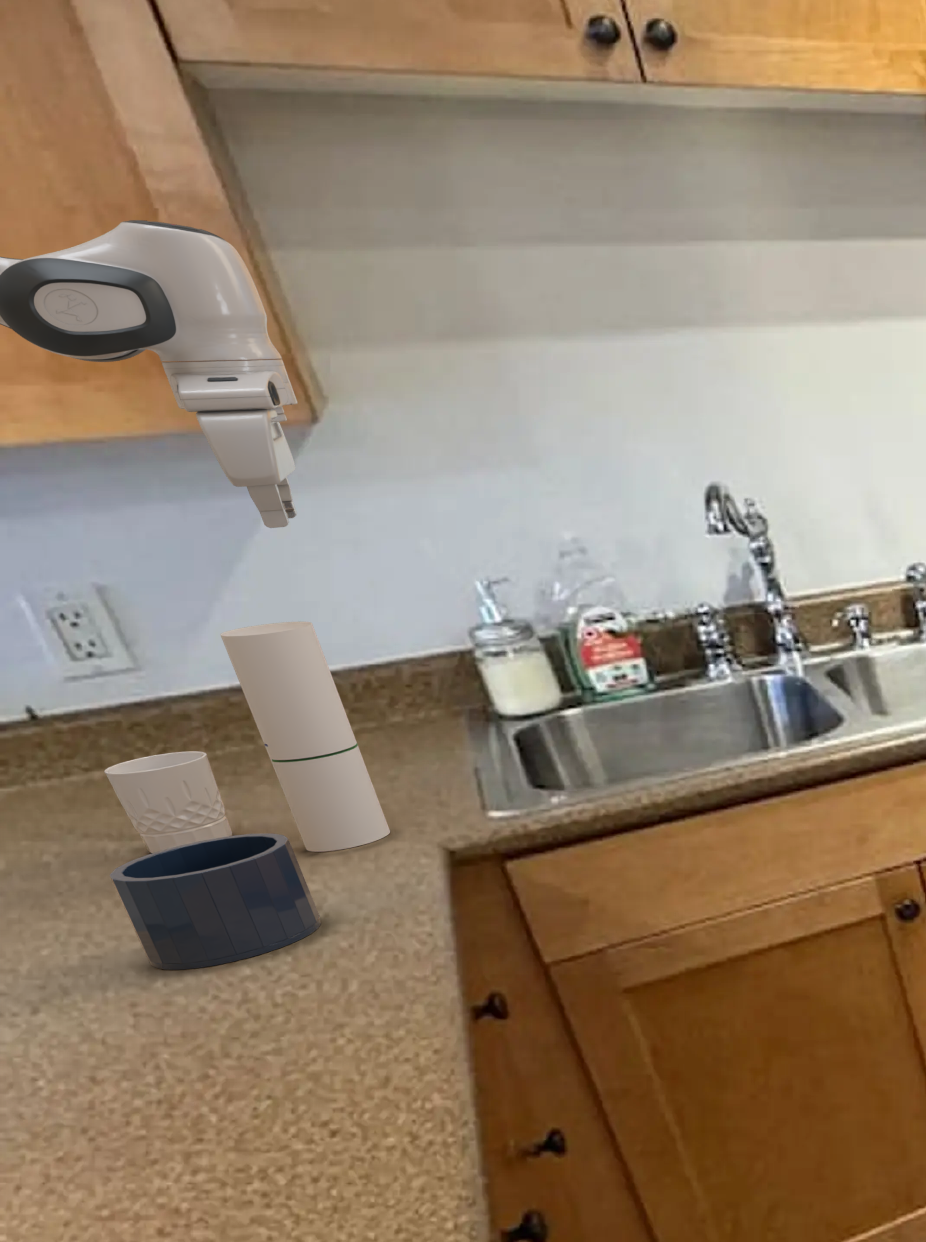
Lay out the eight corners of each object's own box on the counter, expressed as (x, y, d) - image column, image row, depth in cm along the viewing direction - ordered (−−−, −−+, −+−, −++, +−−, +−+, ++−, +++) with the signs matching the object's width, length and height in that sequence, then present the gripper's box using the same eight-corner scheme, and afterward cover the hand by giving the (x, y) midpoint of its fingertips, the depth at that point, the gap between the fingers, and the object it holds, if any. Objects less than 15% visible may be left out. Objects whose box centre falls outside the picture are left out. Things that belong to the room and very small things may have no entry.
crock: (112, 971, 121) (70, 882, 118) (237, 917, 132) (202, 834, 129) (239, 968, 121) (200, 879, 118) (354, 914, 132) (321, 831, 129)
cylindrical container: (380, 824, 156) (303, 618, 148) (397, 836, 152) (319, 626, 144) (299, 843, 151) (213, 631, 142) (314, 856, 147) (227, 639, 139)
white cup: (165, 860, 147) (129, 776, 143) (125, 852, 149) (87, 769, 146) (255, 835, 154) (222, 754, 150) (215, 827, 156) (181, 748, 153)
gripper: (204, 388, 143) (252, 516, 147) (175, 394, 128) (229, 535, 133) (285, 385, 147) (329, 510, 151) (266, 391, 132) (315, 528, 137)
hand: (282, 522), depth 142 cm, fingers open, 8 cm apart
